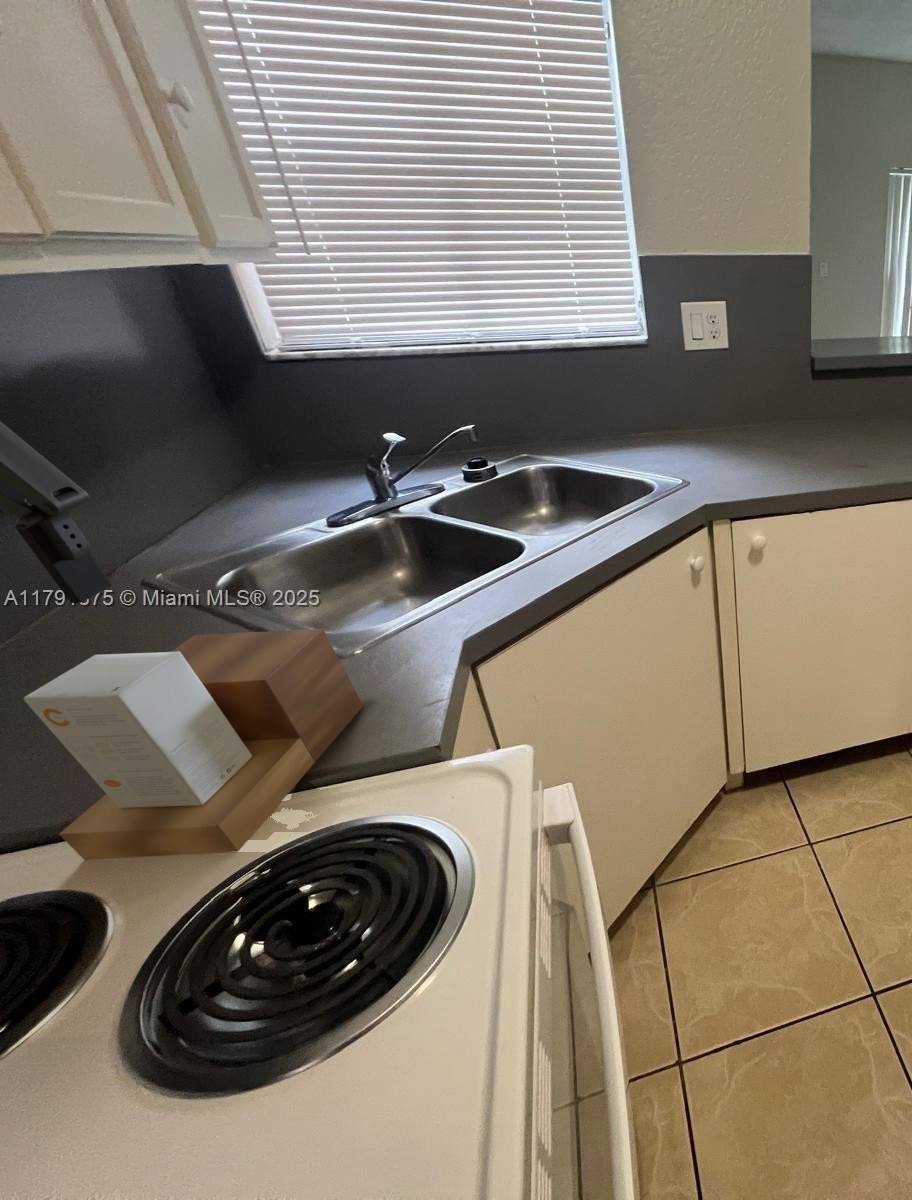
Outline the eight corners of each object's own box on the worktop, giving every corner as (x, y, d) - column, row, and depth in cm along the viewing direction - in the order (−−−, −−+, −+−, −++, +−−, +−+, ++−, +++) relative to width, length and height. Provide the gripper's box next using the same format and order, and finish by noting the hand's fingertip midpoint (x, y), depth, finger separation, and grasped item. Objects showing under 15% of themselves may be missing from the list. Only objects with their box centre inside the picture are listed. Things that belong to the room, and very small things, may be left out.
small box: (255, 756, 62) (183, 649, 55) (202, 807, 57) (115, 696, 50) (176, 758, 62) (94, 652, 56) (116, 809, 57) (17, 699, 50)
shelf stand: (83, 859, 57) (-2, 773, 51) (245, 712, 74) (194, 634, 68) (238, 851, 57) (170, 764, 51) (363, 706, 74) (323, 628, 68)
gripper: (36, 293, 42) (200, 569, 53) (-340, 304, 42) (-97, 579, 53) (-96, 306, 36) (121, 617, 47) (-542, 319, 36) (-217, 629, 47)
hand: (6, 597), depth 50 cm, fingers open, 13 cm apart
